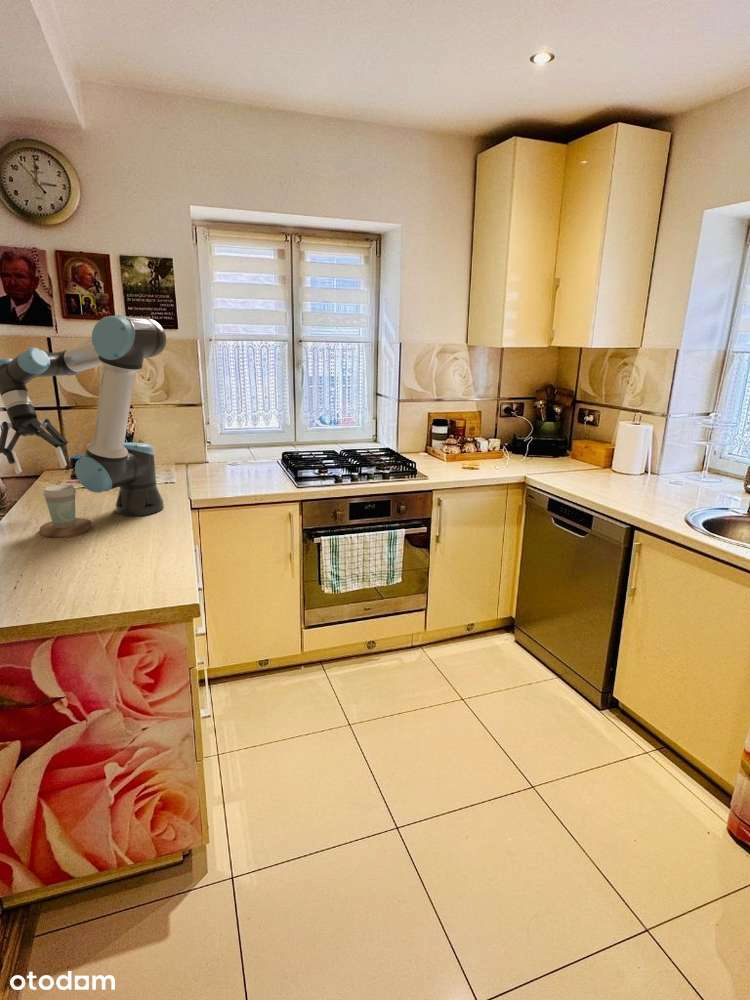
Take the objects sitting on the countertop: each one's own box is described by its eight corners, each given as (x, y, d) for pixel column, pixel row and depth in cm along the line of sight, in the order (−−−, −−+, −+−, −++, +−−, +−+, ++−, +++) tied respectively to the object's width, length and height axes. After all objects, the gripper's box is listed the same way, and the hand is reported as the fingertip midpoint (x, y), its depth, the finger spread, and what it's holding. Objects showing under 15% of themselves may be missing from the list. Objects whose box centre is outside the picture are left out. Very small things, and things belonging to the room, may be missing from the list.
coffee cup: (54, 532, 163) (48, 493, 160) (44, 525, 169) (38, 487, 165) (84, 525, 169) (80, 487, 166) (74, 519, 175) (69, 482, 171)
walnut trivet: (99, 522, 177) (99, 518, 176) (80, 537, 163) (79, 533, 163) (54, 522, 176) (53, 518, 175) (31, 538, 162) (30, 533, 162)
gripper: (55, 410, 188) (76, 468, 187) (-30, 414, 168) (-6, 479, 167) (64, 400, 184) (86, 460, 183) (-22, 404, 164) (2, 471, 163)
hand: (42, 469), depth 175 cm, fingers open, 13 cm apart
